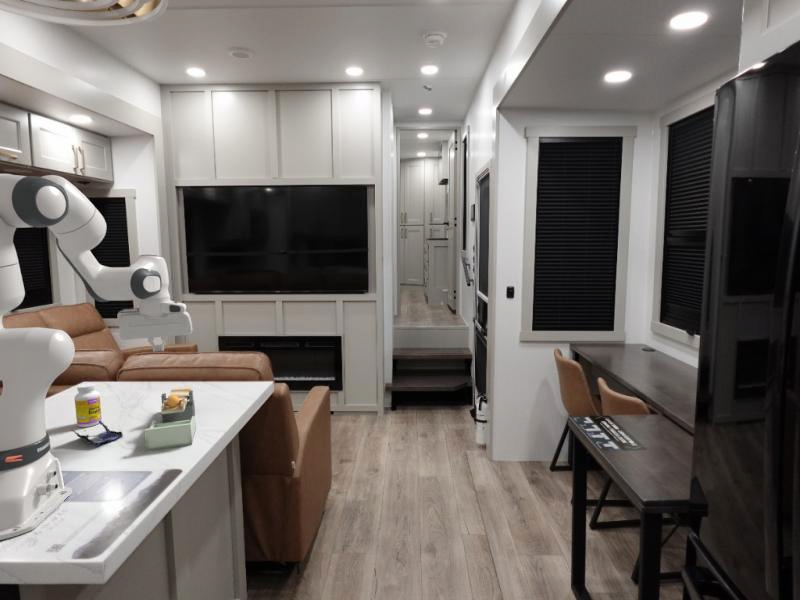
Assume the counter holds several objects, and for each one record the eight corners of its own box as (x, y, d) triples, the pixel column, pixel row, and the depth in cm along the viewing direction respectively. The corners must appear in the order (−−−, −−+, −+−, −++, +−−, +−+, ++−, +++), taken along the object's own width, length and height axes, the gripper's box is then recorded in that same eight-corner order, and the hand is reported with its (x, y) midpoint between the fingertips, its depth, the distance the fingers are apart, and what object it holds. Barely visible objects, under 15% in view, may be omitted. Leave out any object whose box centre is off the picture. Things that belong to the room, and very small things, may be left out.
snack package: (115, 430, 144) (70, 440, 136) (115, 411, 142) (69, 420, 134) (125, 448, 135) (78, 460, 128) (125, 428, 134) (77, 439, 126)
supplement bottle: (89, 428, 144) (85, 388, 143) (72, 427, 146) (67, 387, 144) (107, 420, 151) (103, 382, 150) (90, 419, 152) (86, 381, 151)
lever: (185, 417, 140) (184, 403, 139) (161, 420, 138) (159, 405, 137) (192, 394, 162) (192, 381, 162) (172, 396, 160) (171, 383, 160)
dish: (191, 444, 131) (190, 424, 130) (146, 451, 127) (144, 430, 127) (195, 428, 143) (194, 409, 142) (154, 433, 139) (152, 414, 139)
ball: (179, 408, 140) (178, 396, 139) (166, 409, 139) (165, 398, 138) (180, 404, 143) (179, 393, 143) (168, 405, 142) (167, 394, 141)
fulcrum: (193, 421, 149) (191, 394, 148) (162, 425, 146) (160, 397, 145) (195, 414, 155) (193, 388, 154) (165, 418, 152) (163, 392, 151)
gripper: (114, 310, 137) (118, 356, 138) (189, 306, 144) (192, 350, 145) (119, 308, 143) (123, 351, 144) (191, 304, 149) (194, 346, 151)
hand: (158, 350), depth 145 cm, fingers closed
